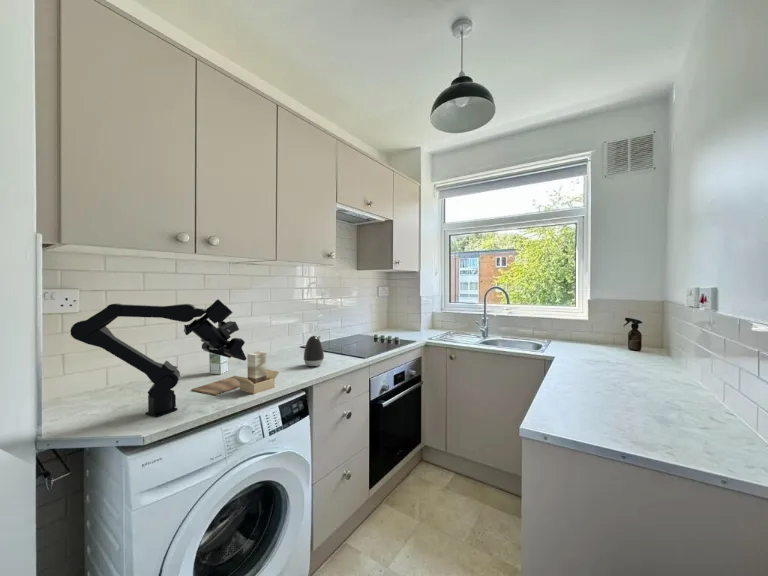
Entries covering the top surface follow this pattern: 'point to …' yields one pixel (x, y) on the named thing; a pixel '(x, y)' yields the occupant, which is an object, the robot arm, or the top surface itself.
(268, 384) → the carton
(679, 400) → the top surface
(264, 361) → the tall box
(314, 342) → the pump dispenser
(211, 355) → the syrup box
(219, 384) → the walnut board
